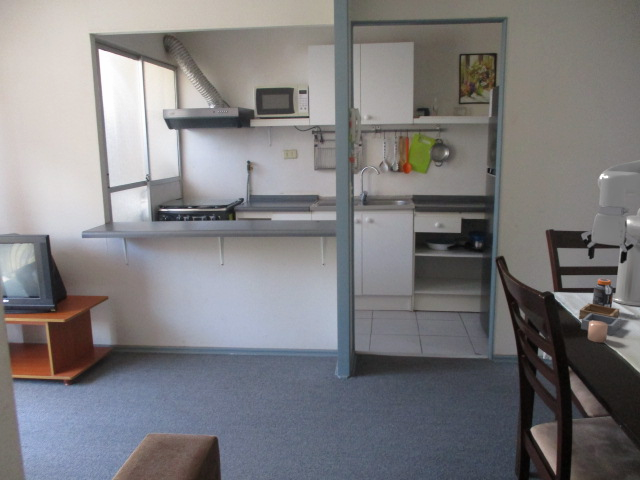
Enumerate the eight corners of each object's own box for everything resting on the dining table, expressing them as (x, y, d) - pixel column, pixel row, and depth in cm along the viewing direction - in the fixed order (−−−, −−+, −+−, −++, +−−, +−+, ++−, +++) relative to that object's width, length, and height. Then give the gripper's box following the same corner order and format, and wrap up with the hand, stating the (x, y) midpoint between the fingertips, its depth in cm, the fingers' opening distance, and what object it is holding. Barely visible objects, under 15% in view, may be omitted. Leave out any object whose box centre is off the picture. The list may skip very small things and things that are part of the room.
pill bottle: (613, 314, 185) (616, 282, 183) (594, 313, 186) (597, 281, 184) (607, 308, 191) (611, 277, 189) (589, 307, 192) (592, 277, 190)
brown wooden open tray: (587, 312, 188) (588, 303, 187) (618, 318, 181) (619, 309, 181) (579, 319, 181) (579, 310, 180) (610, 325, 174) (611, 316, 174)
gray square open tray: (589, 321, 178) (590, 312, 178) (618, 327, 173) (620, 317, 172) (580, 328, 172) (581, 318, 171) (611, 335, 166) (612, 325, 165)
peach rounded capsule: (590, 335, 167) (592, 319, 166) (608, 339, 163) (609, 323, 162) (585, 339, 163) (586, 323, 162) (603, 343, 160) (605, 327, 159)
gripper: (643, 211, 179) (637, 262, 182) (586, 207, 190) (583, 255, 193) (637, 214, 173) (632, 266, 177) (580, 210, 184) (576, 259, 188)
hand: (606, 260), depth 185 cm, fingers open, 9 cm apart
